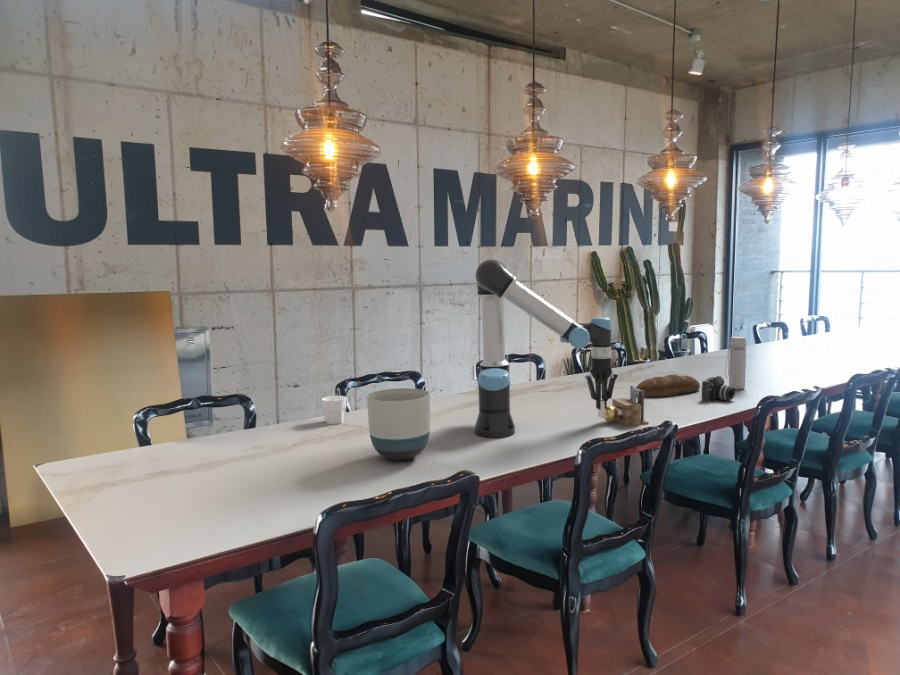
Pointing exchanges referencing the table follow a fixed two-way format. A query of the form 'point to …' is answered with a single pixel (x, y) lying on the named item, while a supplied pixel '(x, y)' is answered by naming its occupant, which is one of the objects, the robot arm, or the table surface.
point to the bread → (668, 385)
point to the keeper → (633, 395)
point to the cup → (334, 409)
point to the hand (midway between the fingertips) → (601, 416)
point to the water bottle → (737, 362)
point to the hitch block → (630, 410)
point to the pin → (612, 413)
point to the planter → (399, 422)
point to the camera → (716, 389)
